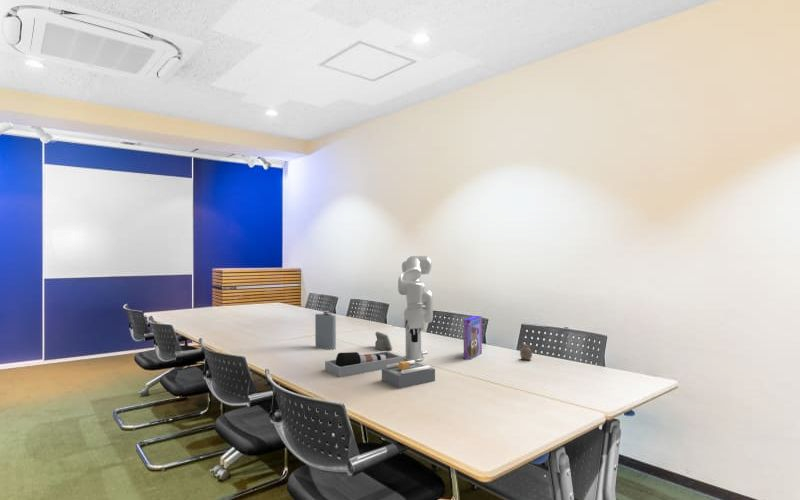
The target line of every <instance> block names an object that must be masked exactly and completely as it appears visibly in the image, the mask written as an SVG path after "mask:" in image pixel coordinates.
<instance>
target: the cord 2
mask: <svg viewBox="0 0 800 500" xmlns="http://www.w3.org/2000/svg"><path fill="white" fill-rule="evenodd" d="M430 368H432V366H431V365H429V364H427V365H425V366H422V367H417V368H412V369H407V370H402V371H401V374H402V375H403V374H408V373H413V372H418V371H423V370H428V369H430Z"/></svg>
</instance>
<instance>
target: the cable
mask: <svg viewBox="0 0 800 500" xmlns="http://www.w3.org/2000/svg"><path fill="white" fill-rule="evenodd" d="M370 354H371V353H368V354H360V353H359V352H356V351H354V352H353V351H351V352H349V351H348V352H338V353H337V356H336V358H335V360H336V365H337V366H339V367H343V366H348V365H354V364H360V363H366V362H372V361H378V360H384V359H390V358H386V356H385V355H370Z"/></svg>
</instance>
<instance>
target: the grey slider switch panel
mask: <svg viewBox="0 0 800 500" xmlns="http://www.w3.org/2000/svg"><path fill="white" fill-rule="evenodd" d="M422 366H426V365H424V364H422V363H419V362H415V364H411V365H410V369H412V368H417V367H422ZM401 371H402V370H400V369H399V367H395V368H389V369H388V368H384V369H382V370H381V381H382V382H384V383H386V384H388V383H389V385H390V384H391V386H392V387H395V388H397V387H398V388H397V389H399V388H400V389H404V388H408V387H414V386H417V385H422V384H423V385H424V384H427V383H431V382H436V368H433V367H431V368H430V369H428V370H423V371H418V372H413V373H408V374H403V375H402V374H401ZM413 385H414V386H413Z"/></svg>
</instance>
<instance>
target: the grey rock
mask: <svg viewBox="0 0 800 500" xmlns="http://www.w3.org/2000/svg"><path fill="white" fill-rule="evenodd" d="M375 336H376V337H375V338H376V340H375V343H374V344H375V349H377V350H379V351H380V352H384V351H393V347H392V343H391V340H390V337H389V335H388V334H385V333H383V332H380V331H376V332H375Z"/></svg>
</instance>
